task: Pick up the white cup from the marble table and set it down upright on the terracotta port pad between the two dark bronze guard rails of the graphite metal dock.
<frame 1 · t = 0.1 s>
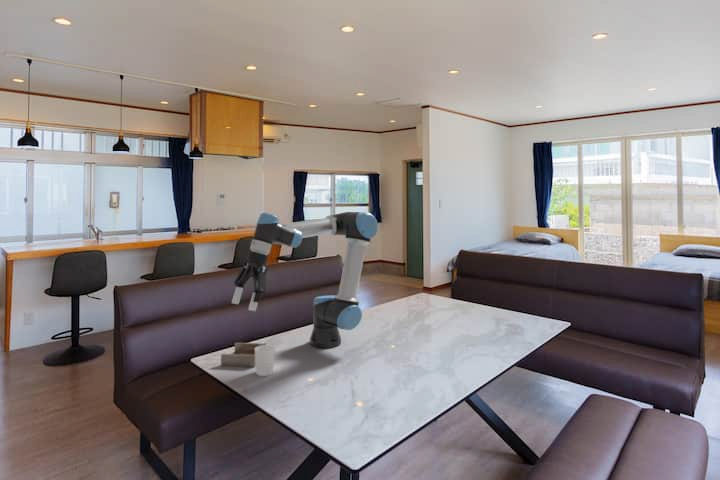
hand: (243, 307, 153), 28 cm above the table, tool tilted 20°, fingers open, 13 cm apart
white cup: (264, 373, 161), on the table
port dock: (244, 359, 175), on the table
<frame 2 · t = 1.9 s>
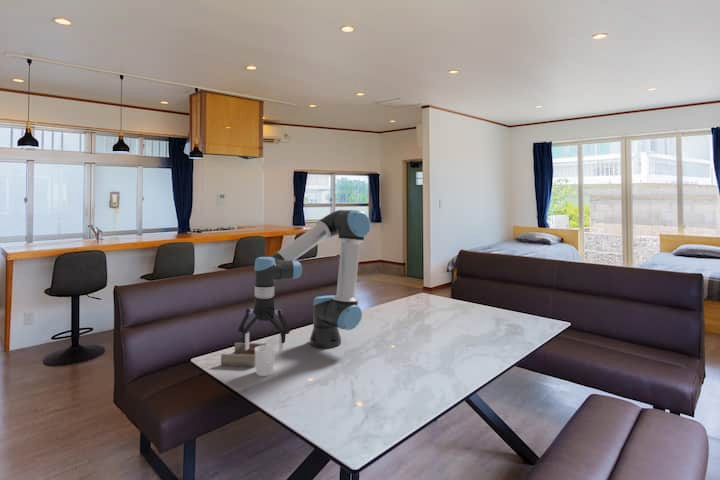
hand: (263, 350, 160), 9 cm above the table, tool pointing down, fingers open, 13 cm apart
nothing on the table moved.
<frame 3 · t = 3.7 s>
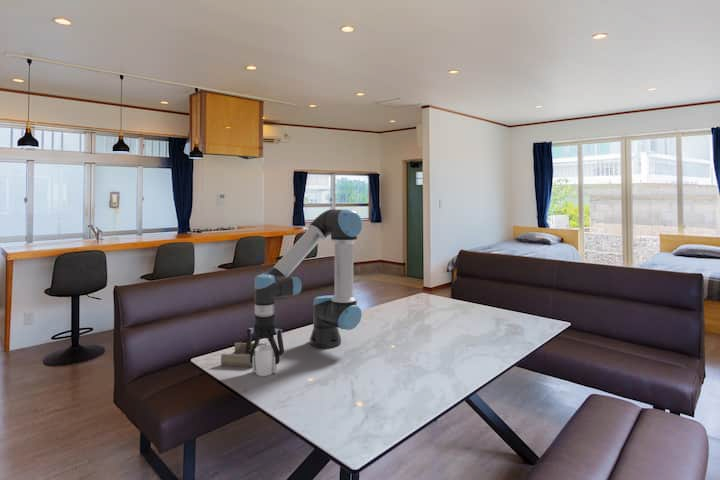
hand: (264, 371, 161), 1 cm above the table, tool pointing down, fingers closed on white cup, 8 cm apart
white cup: (264, 373, 161), on the table, touching gripper
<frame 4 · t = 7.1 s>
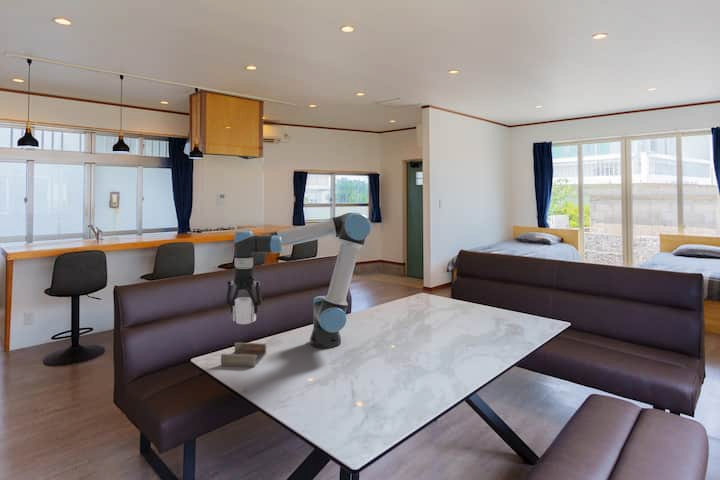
hand: (244, 320, 174), 17 cm above the table, tool pointing down, fingers closed on white cup, 8 cm apart
white cup: (244, 322, 174), point 16 cm above the table, touching gripper
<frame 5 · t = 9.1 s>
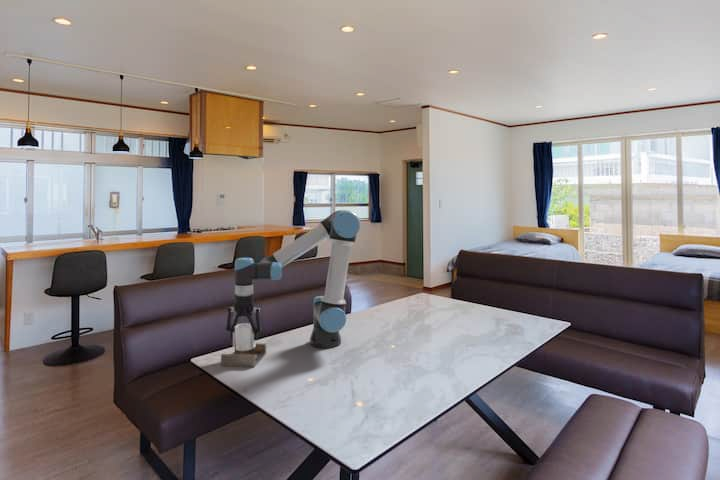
hand: (244, 346, 174), 6 cm above the table, tool pointing down, fingers closed on white cup, 8 cm apart
white cup: (244, 348, 174), point 5 cm above the table, touching gripper
when the fingers open (3 cm above the table, at t = 10.6 s): white cup stays where it is, resting on port dock.
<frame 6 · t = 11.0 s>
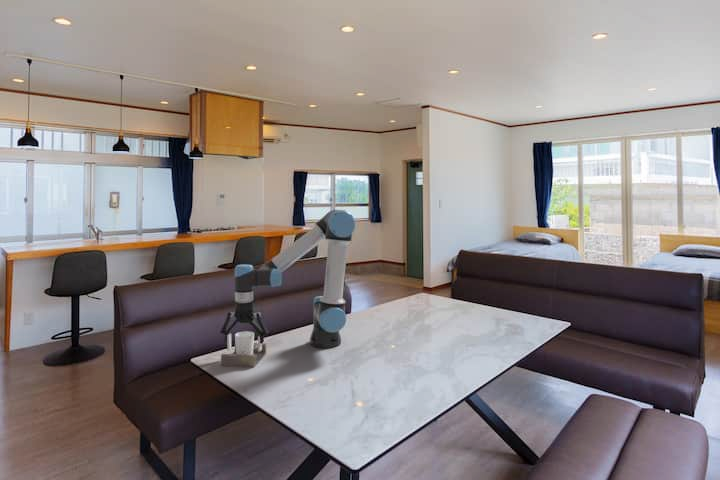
hand: (244, 350, 175), 4 cm above the table, tool pointing down, fingers open, 13 cm apart
white cup: (244, 357, 175), point 1 cm above the table, touching port dock
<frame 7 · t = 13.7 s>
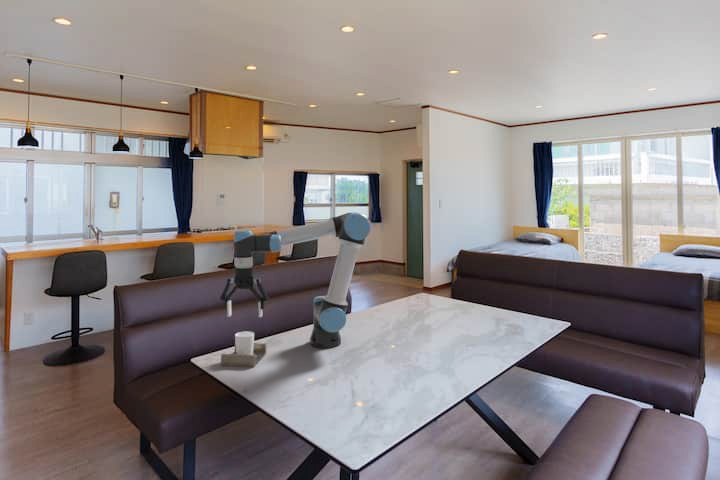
hand: (245, 316, 174), 19 cm above the table, tool pointing down, fingers open, 13 cm apart
nothing on the table moved.
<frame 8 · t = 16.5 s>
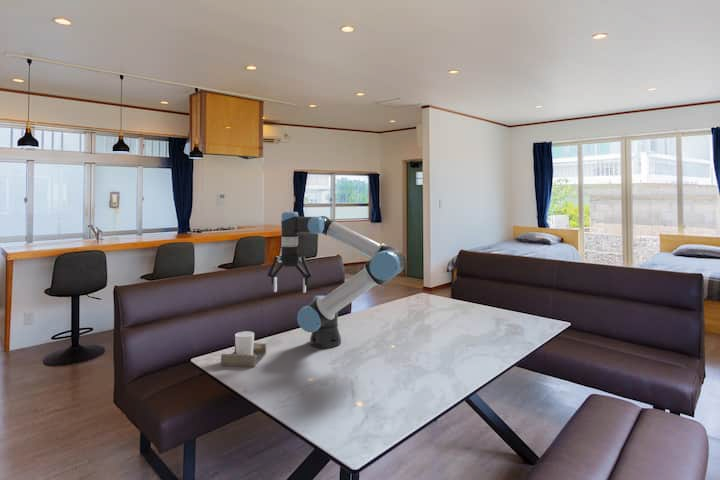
hand: (289, 292, 187), 27 cm above the table, tool pointing down, fingers open, 13 cm apart
nothing on the table moved.
at the end: white cup 0.1 cm off-centre on the port dock, point 0.9 cm above the port dock's base; white cup tilted 0°; the gripper is holding nothing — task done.
